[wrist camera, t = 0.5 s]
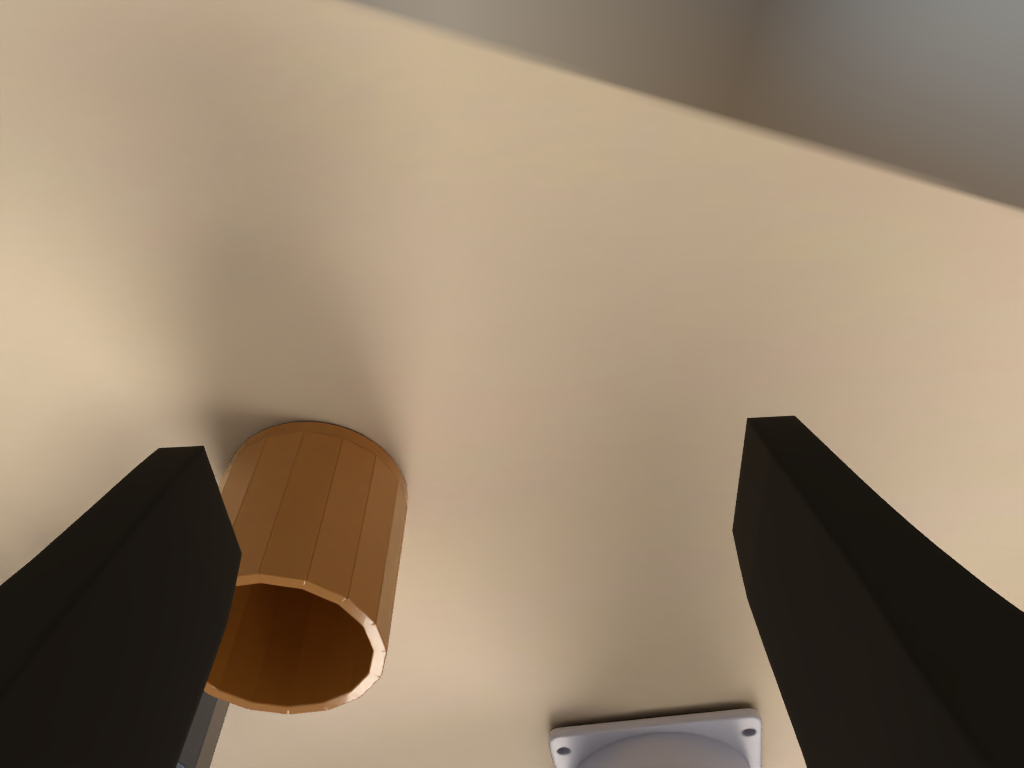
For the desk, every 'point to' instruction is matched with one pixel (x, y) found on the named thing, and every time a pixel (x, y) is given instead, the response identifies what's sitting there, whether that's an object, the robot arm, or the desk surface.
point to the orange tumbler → (309, 568)
